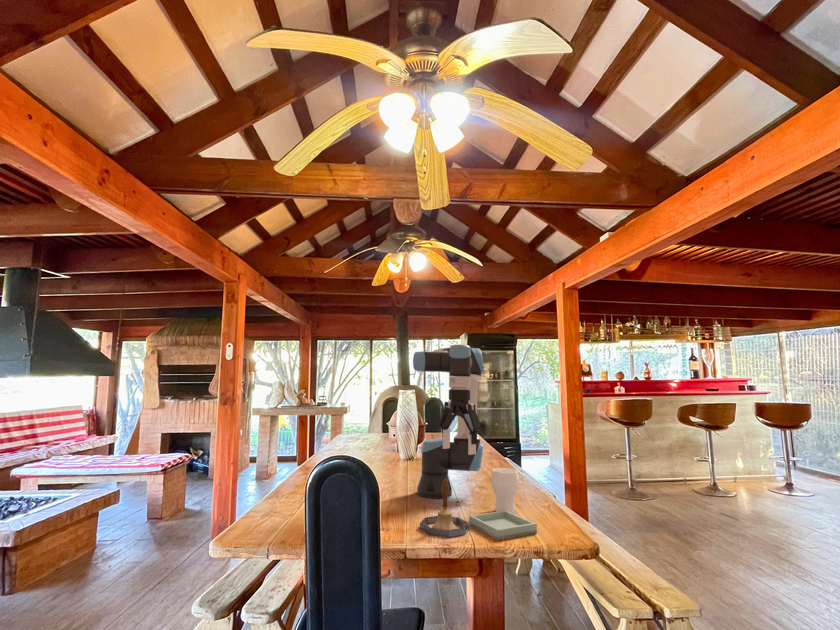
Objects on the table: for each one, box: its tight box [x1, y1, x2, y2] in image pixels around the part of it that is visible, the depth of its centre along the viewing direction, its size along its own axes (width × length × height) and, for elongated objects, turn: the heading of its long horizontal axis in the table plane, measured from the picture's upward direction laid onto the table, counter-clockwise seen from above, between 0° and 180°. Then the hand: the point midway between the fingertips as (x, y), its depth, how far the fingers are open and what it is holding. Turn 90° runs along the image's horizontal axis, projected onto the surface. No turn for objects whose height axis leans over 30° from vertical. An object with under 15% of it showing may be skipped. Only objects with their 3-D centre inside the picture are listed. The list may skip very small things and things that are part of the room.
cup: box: [490, 467, 520, 514], centre depth 171 cm, size 11×11×15 cm
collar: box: [419, 515, 470, 538], centre depth 149 cm, size 15×15×2 cm
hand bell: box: [431, 479, 458, 530], centre depth 150 cm, size 8×8×16 cm
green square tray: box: [468, 510, 538, 541], centre depth 150 cm, size 16×16×3 cm
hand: (458, 451), depth 153 cm, fingers open, 13 cm apart
